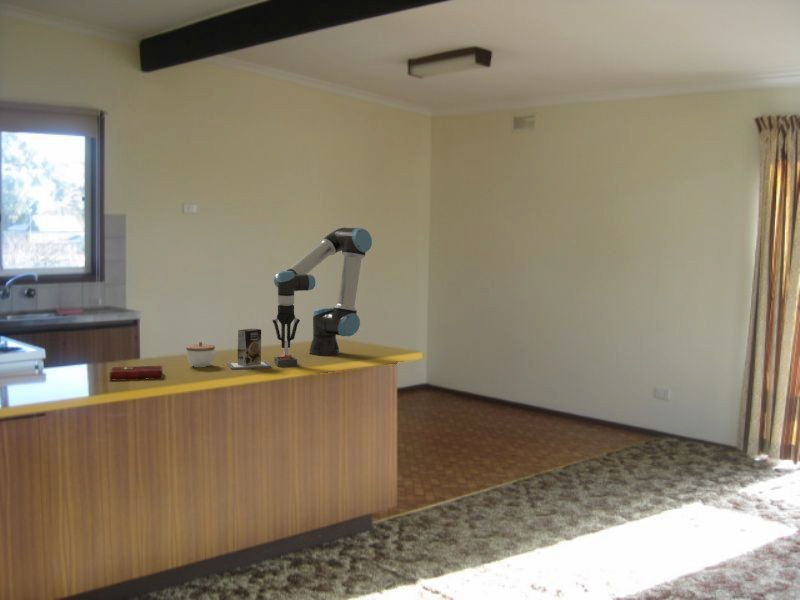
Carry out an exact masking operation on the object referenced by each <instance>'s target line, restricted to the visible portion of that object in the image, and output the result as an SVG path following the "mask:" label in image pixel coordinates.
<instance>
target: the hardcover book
mask: <svg viewBox="0 0 800 600" xmlns="http://www.w3.org/2000/svg"><path fill="white" fill-rule="evenodd" d="M108 375H109V381H113V380H112V379H138V380H147V379H146V378H149V379H148V380H151V379H150V378H163V379H164V365H135V366H130V365H129V366H111V368H110V370H109V374H108Z"/></svg>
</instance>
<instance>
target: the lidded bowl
mask: <svg viewBox="0 0 800 600" xmlns="http://www.w3.org/2000/svg"><path fill="white" fill-rule="evenodd" d="M198 342H199V343H198V344H190V345H187V346H186V347H185V348H186V349H185V350H186V358H187V361H188V362H189V364H190V365H191V366H192V367H193V366H194V367H193V368H207V367H206V366H208V367H210V365H211V364H212V362H213V361H214V358H215V348H216V346H215V345H212V344H205V343H203V342H202V341H198Z"/></svg>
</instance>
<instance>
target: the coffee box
mask: <svg viewBox="0 0 800 600" xmlns="http://www.w3.org/2000/svg"><path fill="white" fill-rule="evenodd" d="M261 362H262V329H259V328H246V329H244V328H243V329H238V330H237V363H238V365H243V366H250V365H257V364H261Z"/></svg>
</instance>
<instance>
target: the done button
mask: <svg viewBox="0 0 800 600" xmlns="http://www.w3.org/2000/svg"><path fill="white" fill-rule="evenodd" d="M279 357H280V360H290V359H291V357H293V355H292V354H288V355H284V354H279Z"/></svg>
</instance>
